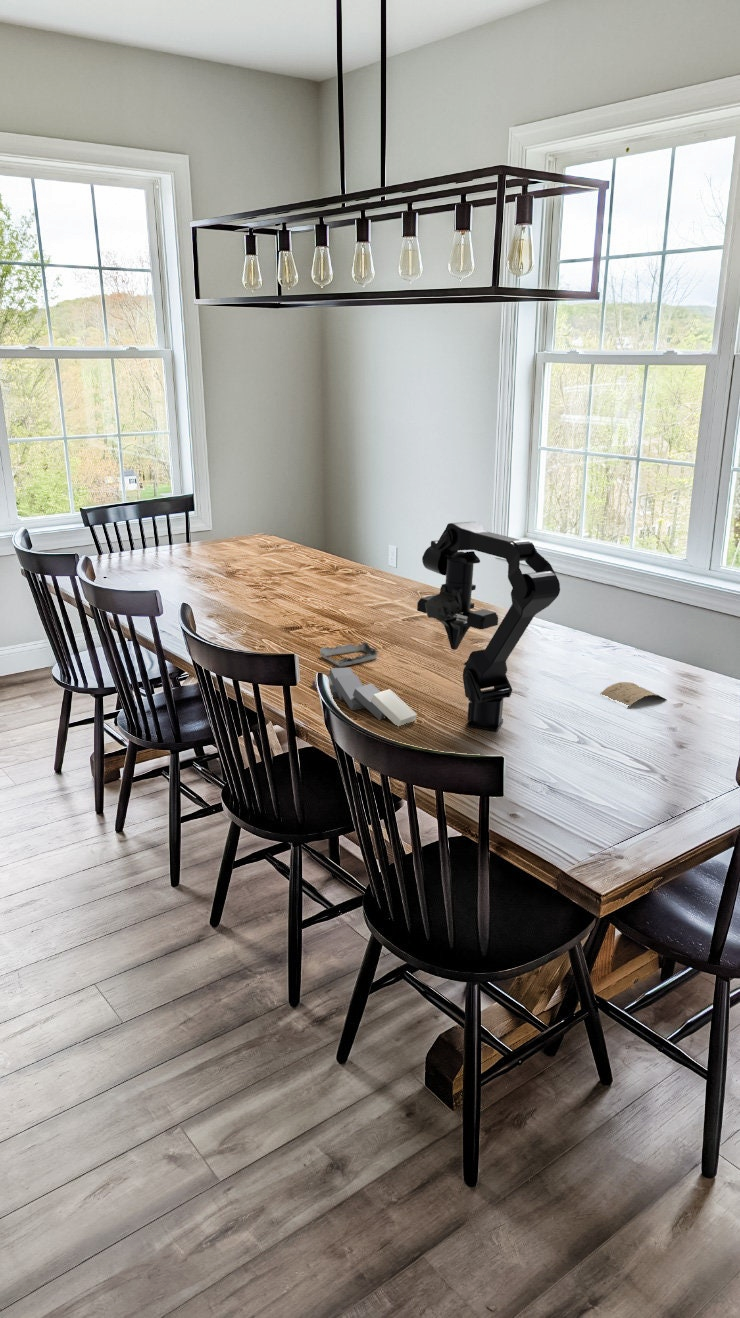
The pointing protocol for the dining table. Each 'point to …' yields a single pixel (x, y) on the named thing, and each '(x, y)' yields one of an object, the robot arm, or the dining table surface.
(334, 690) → the domino
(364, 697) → the domino
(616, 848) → the dining table surface
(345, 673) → the domino
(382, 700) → the loose domino
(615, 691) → the tan curved piece
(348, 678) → the domino
